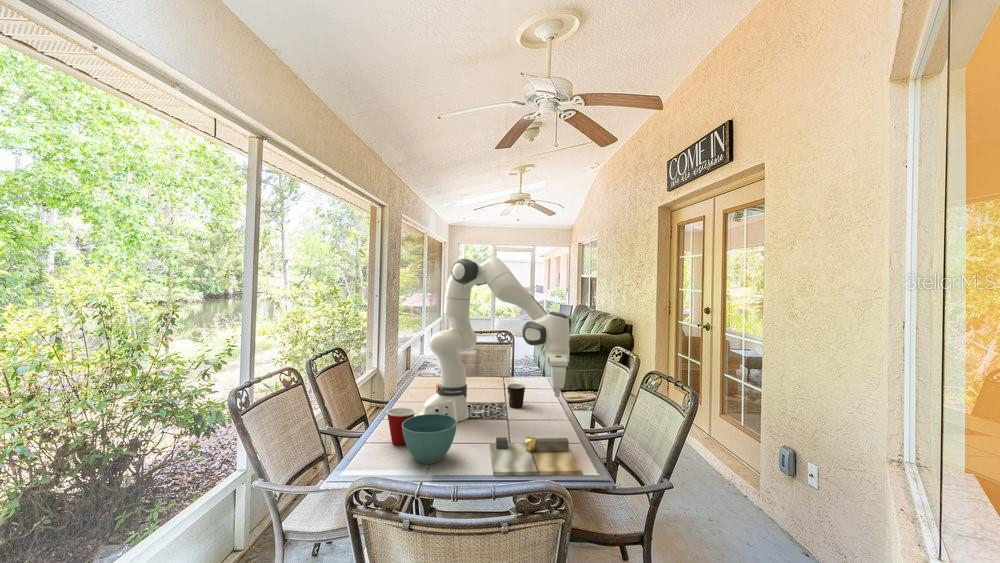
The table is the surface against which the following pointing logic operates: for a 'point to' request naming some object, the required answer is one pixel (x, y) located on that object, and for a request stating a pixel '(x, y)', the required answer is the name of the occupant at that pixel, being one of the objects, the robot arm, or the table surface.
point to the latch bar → (546, 444)
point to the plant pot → (429, 436)
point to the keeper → (501, 443)
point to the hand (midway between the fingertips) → (556, 394)
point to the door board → (531, 461)
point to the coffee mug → (516, 395)
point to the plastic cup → (398, 423)
